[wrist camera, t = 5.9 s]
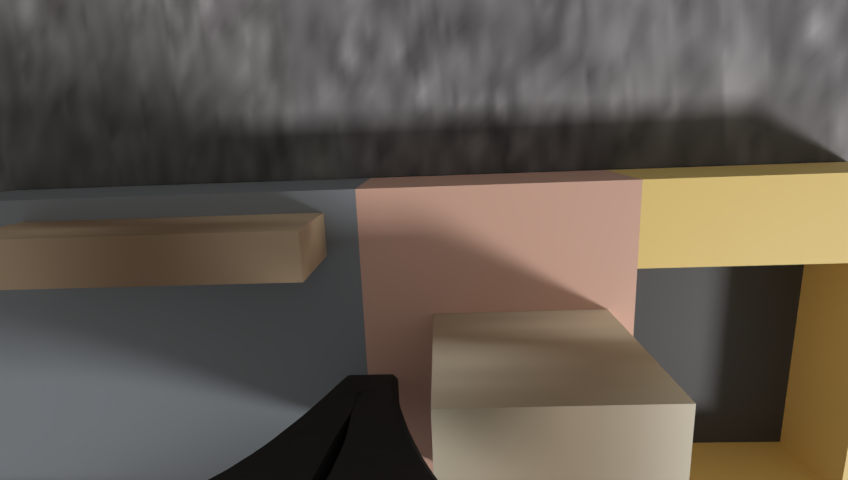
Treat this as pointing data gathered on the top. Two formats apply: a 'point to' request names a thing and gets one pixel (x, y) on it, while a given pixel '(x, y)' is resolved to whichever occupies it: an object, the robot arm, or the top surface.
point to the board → (442, 312)
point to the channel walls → (161, 251)
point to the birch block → (553, 400)
